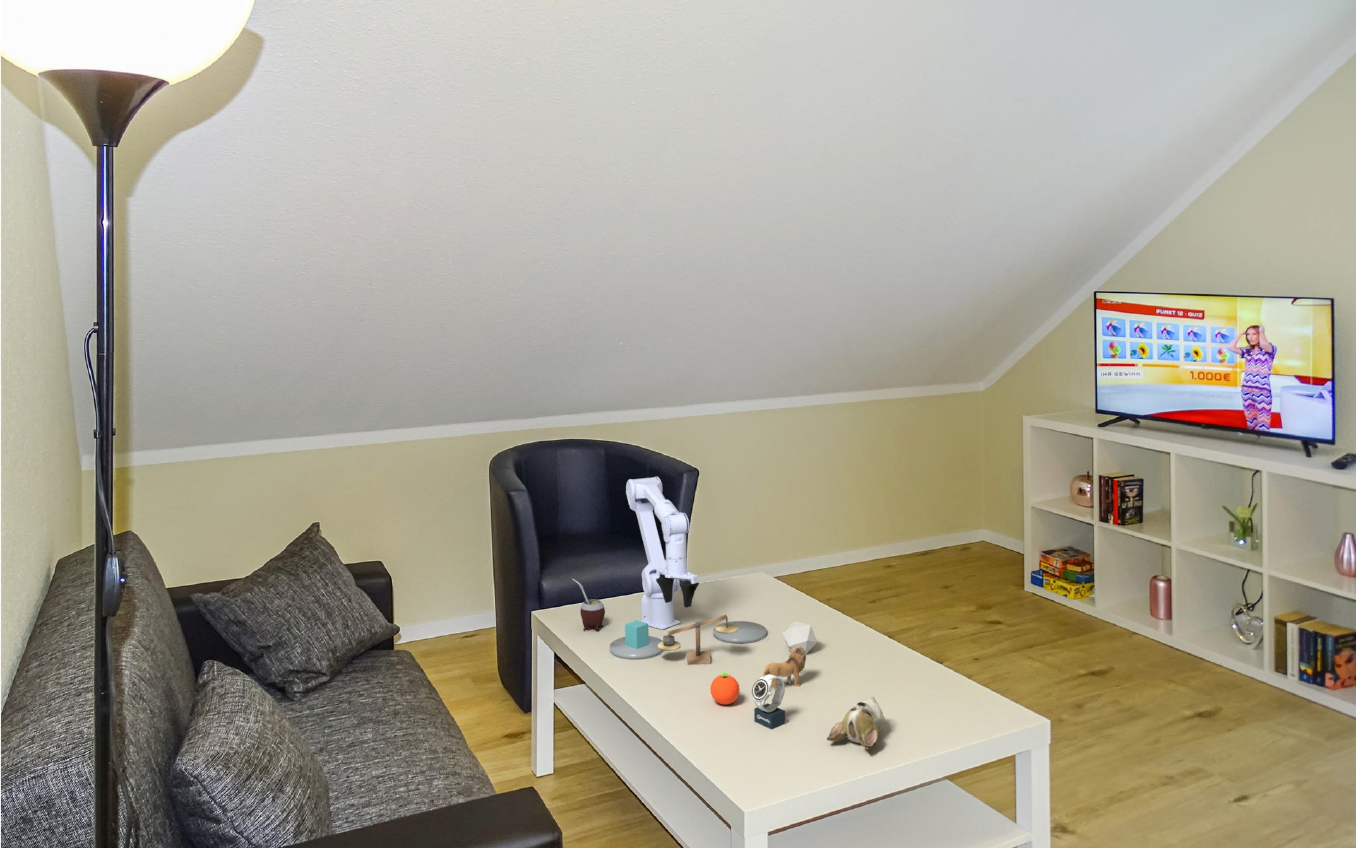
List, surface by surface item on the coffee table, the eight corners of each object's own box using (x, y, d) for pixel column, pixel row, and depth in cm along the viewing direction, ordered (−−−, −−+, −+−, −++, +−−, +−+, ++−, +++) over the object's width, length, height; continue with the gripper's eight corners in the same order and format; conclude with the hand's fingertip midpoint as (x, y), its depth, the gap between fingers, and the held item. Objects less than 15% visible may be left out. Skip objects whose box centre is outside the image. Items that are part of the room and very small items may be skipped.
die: (822, 653, 274) (813, 619, 278) (814, 648, 267) (805, 613, 271) (794, 662, 276) (785, 628, 281) (785, 657, 269) (776, 622, 273)
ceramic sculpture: (895, 694, 224) (869, 724, 212) (896, 730, 226) (871, 762, 213) (850, 685, 230) (822, 713, 217) (851, 720, 231) (824, 751, 219)
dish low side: (598, 650, 278) (598, 646, 278) (637, 635, 289) (637, 631, 289) (637, 663, 268) (636, 659, 268) (676, 648, 279) (675, 643, 279)
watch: (748, 724, 231) (747, 677, 229) (773, 714, 236) (773, 668, 234) (765, 732, 227) (765, 685, 225) (790, 721, 232) (790, 675, 230)
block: (625, 645, 278) (624, 624, 277) (637, 641, 282) (636, 620, 281) (637, 649, 275) (636, 628, 274) (648, 644, 278) (648, 623, 278)
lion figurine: (796, 676, 258) (796, 642, 256) (811, 682, 254) (811, 648, 252) (753, 691, 249) (753, 656, 247) (768, 698, 245) (768, 662, 243)
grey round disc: (702, 635, 288) (702, 631, 288) (736, 621, 299) (736, 617, 299) (743, 647, 278) (743, 643, 278) (777, 633, 289) (777, 628, 289)
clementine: (710, 695, 247) (710, 667, 246) (739, 695, 247) (738, 667, 246) (710, 709, 239) (710, 680, 238) (740, 709, 239) (739, 680, 238)
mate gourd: (609, 629, 295) (608, 579, 293) (585, 635, 290) (584, 584, 288) (597, 622, 301) (595, 573, 299) (573, 628, 297) (571, 578, 294)
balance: (658, 665, 267) (657, 621, 265) (657, 657, 273) (656, 613, 271) (739, 662, 267) (739, 618, 266) (737, 654, 273) (736, 611, 271)
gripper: (648, 556, 286) (649, 603, 287) (685, 563, 275) (686, 612, 277) (665, 551, 291) (667, 597, 292) (702, 558, 280) (704, 606, 282)
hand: (678, 604), depth 285 cm, fingers open, 7 cm apart
